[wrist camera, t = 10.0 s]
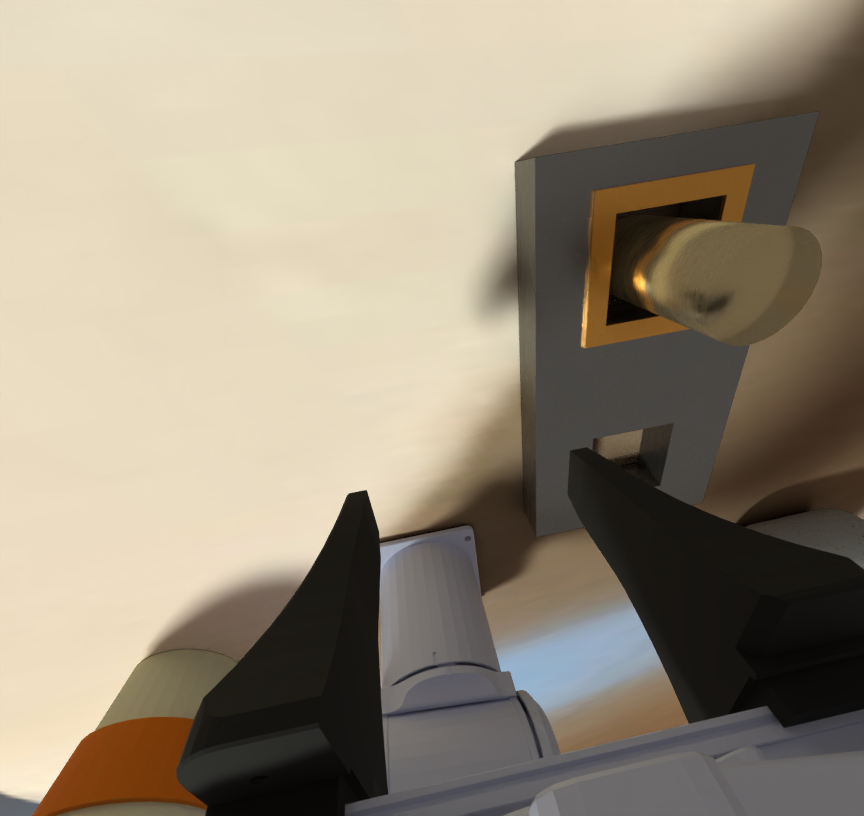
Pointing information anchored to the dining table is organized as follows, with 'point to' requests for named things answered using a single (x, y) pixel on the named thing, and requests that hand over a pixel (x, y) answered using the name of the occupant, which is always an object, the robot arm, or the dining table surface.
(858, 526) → the ceramic mug
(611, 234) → the hole plate
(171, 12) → the dining table surface
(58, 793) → the reusable coffee cup
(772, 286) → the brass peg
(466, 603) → the robot arm
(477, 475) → the dining table surface
